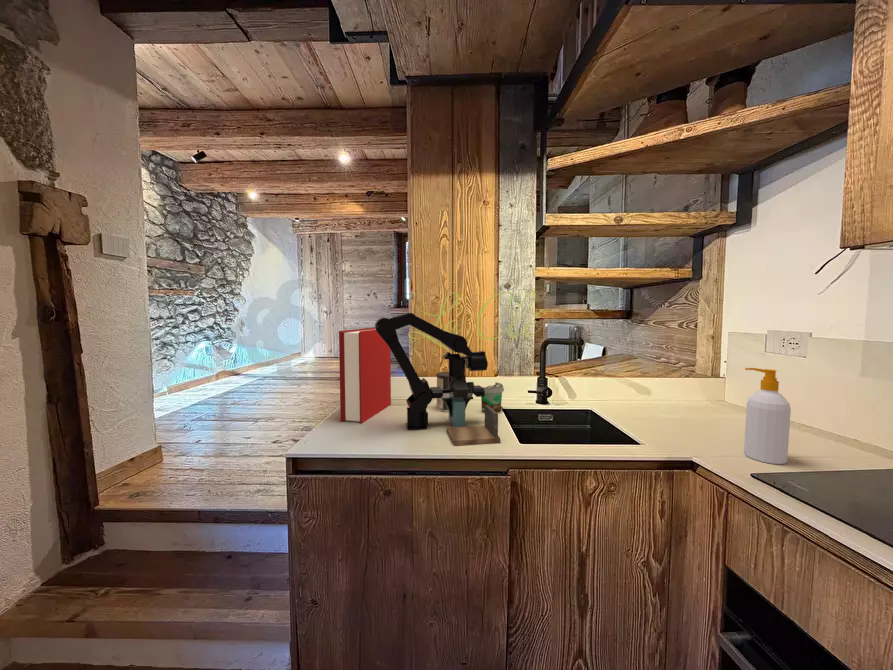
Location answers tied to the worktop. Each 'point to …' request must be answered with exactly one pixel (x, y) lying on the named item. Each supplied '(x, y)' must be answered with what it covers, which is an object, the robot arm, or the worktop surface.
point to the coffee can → (443, 383)
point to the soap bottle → (767, 422)
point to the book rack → (477, 431)
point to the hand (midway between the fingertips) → (456, 416)
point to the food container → (492, 397)
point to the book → (363, 374)
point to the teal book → (457, 412)
